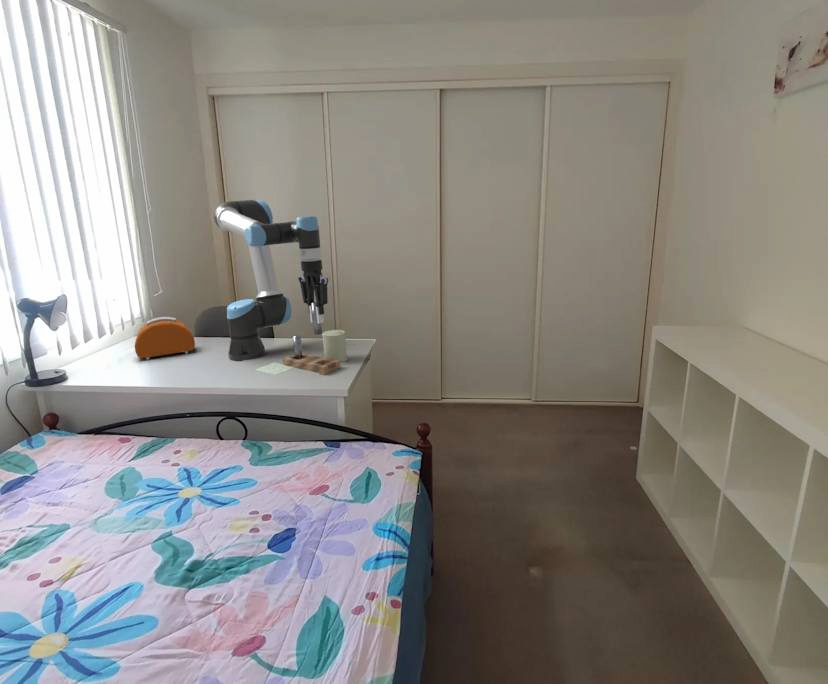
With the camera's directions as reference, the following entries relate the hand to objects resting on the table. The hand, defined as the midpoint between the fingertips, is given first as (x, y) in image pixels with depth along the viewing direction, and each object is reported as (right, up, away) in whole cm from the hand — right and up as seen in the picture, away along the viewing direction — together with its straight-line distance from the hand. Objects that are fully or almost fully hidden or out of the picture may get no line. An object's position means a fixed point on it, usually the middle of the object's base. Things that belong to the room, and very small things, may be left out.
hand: (317, 322), depth 195 cm
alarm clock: (-72, -13, +33) cm, 81 cm away
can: (+4, -15, +17) cm, 23 cm away
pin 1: (-9, -16, +13) cm, 23 cm away
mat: (-18, -18, +8) cm, 27 cm away
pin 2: (0, -4, +1) cm, 4 cm away
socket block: (-4, -17, +9) cm, 20 cm away
